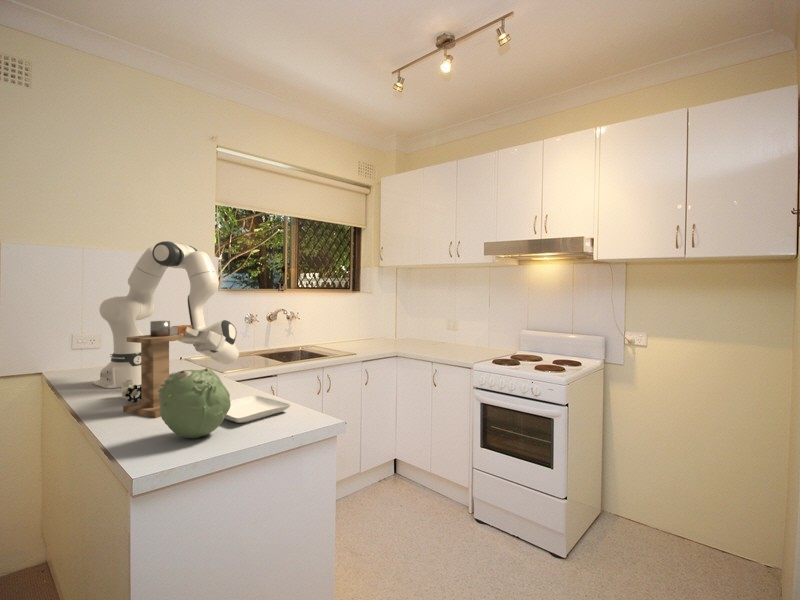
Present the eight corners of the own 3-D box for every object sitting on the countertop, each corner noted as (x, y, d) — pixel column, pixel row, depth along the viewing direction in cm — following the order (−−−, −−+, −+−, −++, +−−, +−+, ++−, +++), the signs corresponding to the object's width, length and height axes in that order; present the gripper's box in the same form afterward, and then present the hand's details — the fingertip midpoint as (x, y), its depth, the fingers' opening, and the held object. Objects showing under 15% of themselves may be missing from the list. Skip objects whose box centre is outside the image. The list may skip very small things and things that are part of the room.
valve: (115, 398, 158) (125, 404, 150) (115, 381, 158) (125, 386, 150) (135, 395, 163) (145, 400, 155) (135, 378, 163) (145, 383, 155)
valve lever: (146, 335, 143) (146, 321, 143) (183, 331, 157) (183, 318, 157) (158, 336, 141) (158, 322, 140) (194, 332, 155) (194, 319, 154)
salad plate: (255, 402, 155) (255, 393, 155) (292, 412, 143) (292, 403, 143) (201, 416, 138) (201, 406, 138) (237, 429, 126) (237, 418, 126)
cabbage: (238, 436, 119) (238, 368, 118) (165, 453, 106) (165, 377, 106) (220, 422, 131) (220, 360, 130) (153, 436, 118) (152, 367, 118)
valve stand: (123, 411, 141) (122, 336, 140) (155, 403, 152) (155, 333, 151) (155, 417, 135) (155, 339, 134) (186, 408, 146) (186, 335, 145)
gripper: (191, 334, 169) (164, 319, 157) (229, 337, 161) (204, 322, 150) (184, 348, 166) (157, 334, 155) (222, 352, 158) (196, 337, 147)
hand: (180, 328), depth 152 cm, fingers closed on valve lever, 3 cm apart
